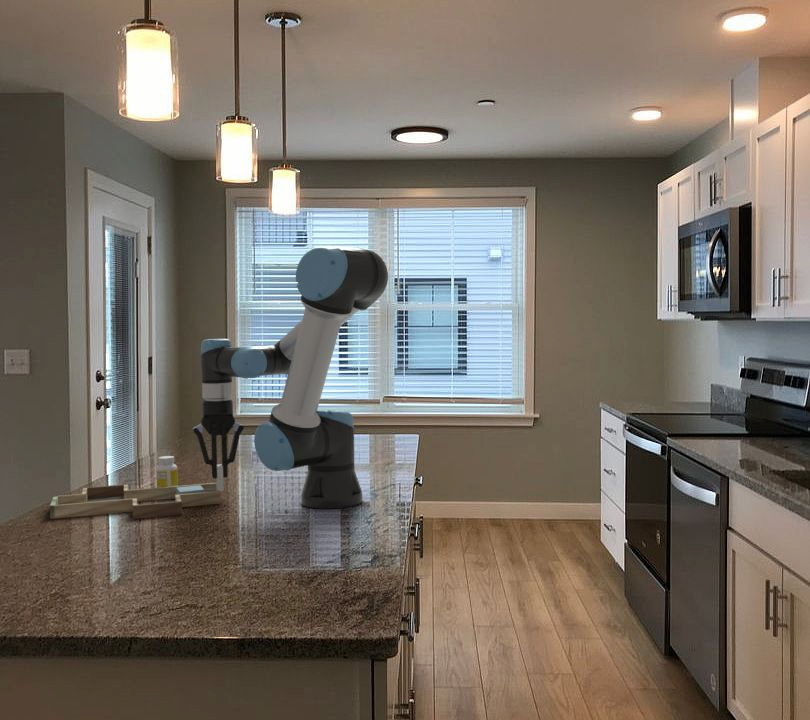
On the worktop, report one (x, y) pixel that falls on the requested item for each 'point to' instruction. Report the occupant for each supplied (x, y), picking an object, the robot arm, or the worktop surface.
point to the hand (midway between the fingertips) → (220, 490)
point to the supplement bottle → (167, 472)
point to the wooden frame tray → (131, 501)
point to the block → (189, 489)
